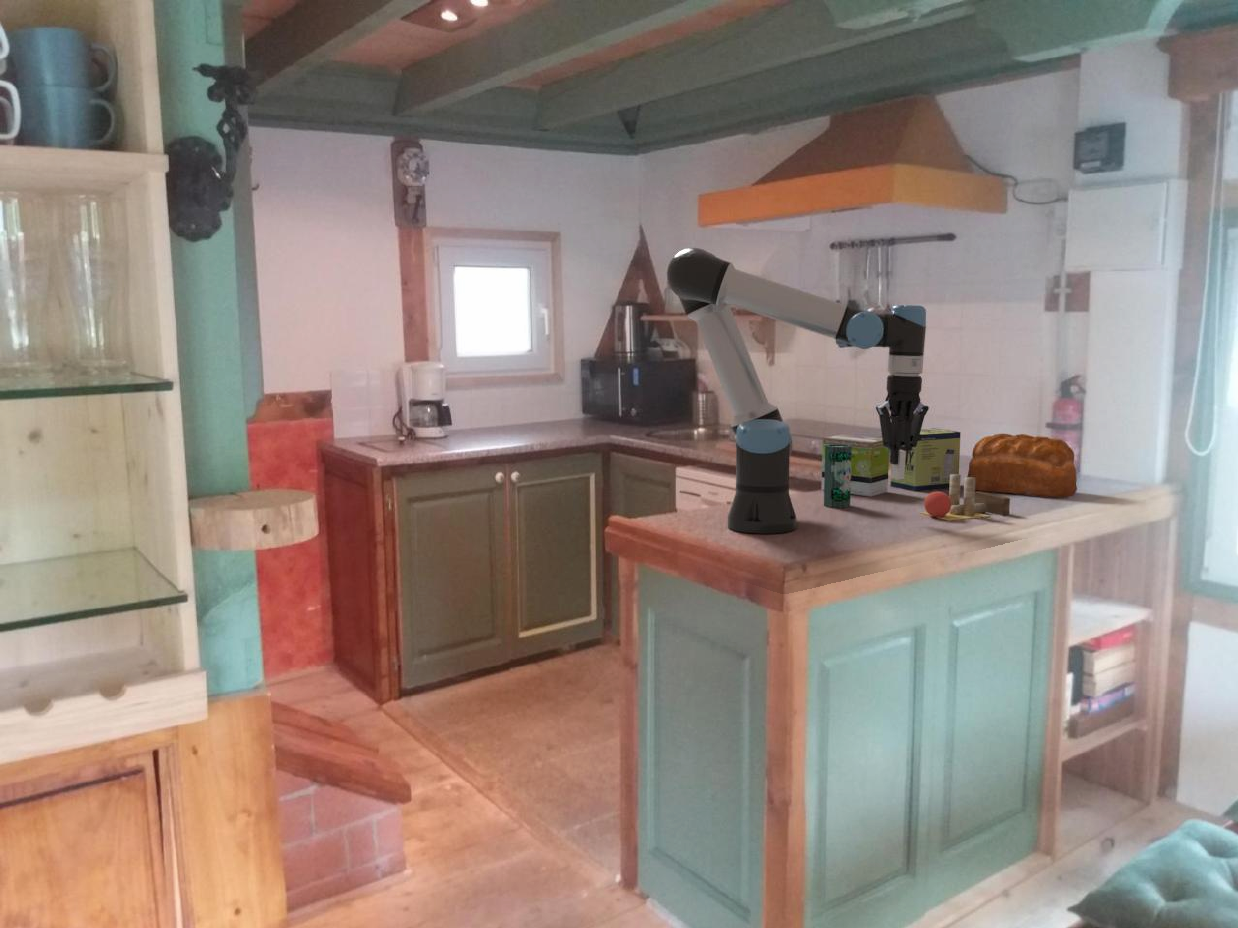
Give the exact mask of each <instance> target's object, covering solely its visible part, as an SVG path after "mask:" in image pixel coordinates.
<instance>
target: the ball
mask: <svg viewBox="0 0 1238 928" xmlns="http://www.w3.org/2000/svg"><path fill="white" fill-rule="evenodd" d="M923 506H924V509H925V512H927V513H928V514H930V515H931V516H930V517H933V518H936V517H942V516H945V515H946V514H947V513H948V512H949V511H950V509H951V500H950V498H949V494H946V493H945V492H943V491H940V490H939V491H938V490H936V491H932V492H930V493H928V495H926V497H925V498H924V502H923Z"/></svg>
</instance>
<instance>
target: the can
mask: <svg viewBox="0 0 1238 928" xmlns="http://www.w3.org/2000/svg"><path fill="white" fill-rule="evenodd" d="M851 456H852V446H851V445H845V444H829V445H825V478H824V490H823V506H824V507H827V508H831V507H833V509H836V508H837V509H845V508H850V507H851V495H852V494H851Z"/></svg>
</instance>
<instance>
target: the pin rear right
mask: <svg viewBox="0 0 1238 928" xmlns="http://www.w3.org/2000/svg"><path fill="white" fill-rule="evenodd" d="M963 479H964V481H963V483H964V484H963V502H962V503H963V504H962V505H963V516H974V501H975V492H976V490H975V478H972V477H967V476H965V477H964V478H963Z"/></svg>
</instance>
